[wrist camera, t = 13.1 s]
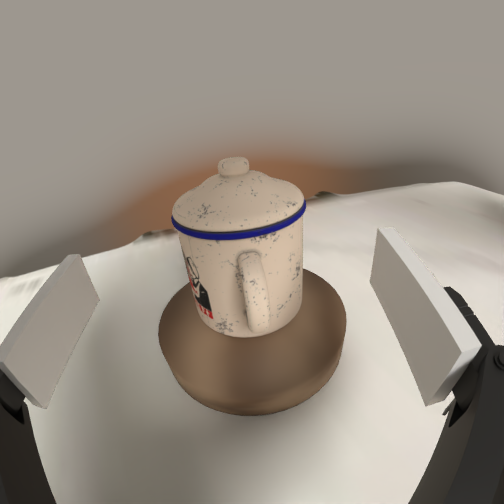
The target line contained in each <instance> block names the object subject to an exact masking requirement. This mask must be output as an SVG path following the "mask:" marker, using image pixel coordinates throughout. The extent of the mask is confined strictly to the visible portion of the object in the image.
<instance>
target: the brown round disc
mask: <svg viewBox="0 0 504 504" xmlns="http://www.w3.org/2000/svg"><path fill="white" fill-rule="evenodd" d="M345 331H346V312H345V308H344V305H343V302H342V300H341V298H340V296H339V295H338V294H337V292H336V291H335V289H334V288H333V287H332V286H331V285H330V284H329V283H327V282H326V281H325V280H324V279H322V278H321V277H319V276H318V275H316V274H314V273H312V272H310V271H308V270H306V269H303V276H302V303H301V306H300V309H299V311H298V313H297V314H296V316H295V317H294V318H293V319H292V320H291V321H290V322H289V323H288V324H287V325H285V326H284V327H282V328H280V329H279V330H277V331H274V332H272V333H269V334H266V335H263V336H258V337H249V338H240V337H232V336H228V335H224V334H221V333H219V332H217V331H215V330H213V329H211V328H210V327H209V326H207V325H206V324H205V323H204V322H203V320H202V319H201V317H200V315H199V313H198V310H197V306H196V303H195V299H194V295H193V292H192V288H191V284H190V283H188V284H187V285H185V286H184V287H183V288H182V289H180V290H179V291H178V292H177V293H176V294H175V295H174V296H173V298H172V299H171V300H170V302H169V303H168V304H167V306H166V308H165V309H164V311H163V314H162V316H161V319H160V324H159V333H158V336H159V343H160V347H161V350H162V353H163V355H164V357H165V359H166V361H167V363H168V365H169V367H170V369H171V371H172V373H173V375H174V376H175V378H176V380H177V381H178V383H179V385H180V386H181V387H182V388H183V389H184V390H185V392H186V393H188V394H189V395H190V396H191V397H192V398H194V399H195V400H197V401H198V402H200V403H201V404H203V405H205V406H207V407H209V408H212V409H214V410H217V411H220V412H224V413H228V414H234V415H241V416H257V415H266V414H272V413H276V412H280V411H284V410H286V409H289V408H291V407H294V406H296V405H298V404H300V403H302V402H304V401H305V400H307V399H309V398H310V397H311V396H313V395H314V394H315V393H317V392H318V391H319V390H320V389H321V388H322V387H323V386H324V385H325V384H326V383H327V382H328V380H329V379H330V378H331V376H332V375H333V373H334V371H335V369H336V367H337V365H338V363H339V359H340V356H341V352H342V347H343V342H344V336H345Z"/></svg>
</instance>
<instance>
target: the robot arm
mask: <svg viewBox="0 0 504 504" xmlns="http://www.w3.org/2000/svg"><path fill="white" fill-rule="evenodd" d="M370 283H371V285H372V287H373V289H374V291H375V293H376V295H377V297H378V299H379V301H380V303H381V305H382V307H383V309H384V311H385V313H386V315H387V317H388V320H389V322H390V324H391V326H392V328H393V330H394V332H395V334H396V337H397V339H398V341H399V343H400V345H401V348H402V350H403V352H404V355H405V357H406V359H407V361H408V364H409V366H410V369H411V371H412V373H413V376H414V378H415V381H416V383H417V386H418V388H419V391H420V393H421V396H422V399H423V401H424V404H425V407H426V406H429V405H432V404H435V403H438V402H440V401H443V400H445V399H446V397H447V396H448V395H449V393H450V392H451V391H453V394H454V396H455V398H454V399H453V401H452V402H451V403H450V404H449V406H448V407H447V408H446V409H445V411H444V412H443V414H442V415H444V416H445V415H446V414H447V412H448V411H449V413H448V416H447V419H446V422H445V425H444V427H443V430H442V433H441V435H440V438H439V441H438V443H437V446H436V448H435V450H434V453H433V455H432V457H431V460H430V462H429V464H428V466H427V468H426V471H425V473H424V475H423V477H422V479H421V481H420V483H419V485H418V487H417V489H416V490H415V492H414V494H413V496H412V498H411V500H410V501H409V503H408V504H504V346H502V345H495V344H494V343H493V341H492V339H491V338H490V336H489V335H488V333H487V332H486V330H485V329H484V327H483V326H482V324H481V323H480V321H479V320H478V318H477V317H476V315H474V314H473V311H472V310H471V308H470V307H468V304H467V303H466V301H465V300H464V299H463V297H462V296H461V295H460V294H459V293H458V292H456V291H455V290H454V289H452V288H451V287H444V288H443V287H442V286H441V284H440V283H439V282H438V280H437V279H436V278H435V276H434V275H433V274H432V272H431V271H430V270H429V269H428V267H427V266H426V265H425V264H424V262H423V261H422V260H421V259H420V257H419V256H418V255H417V254H416V252H415V251H414V250H413V249H412V248H411V246H410V245H409V244H408V243H407V242H406V240H405V239H404V238H403V237H402V236H401V235H400V234H399V232H398V231H397V230H396V229H395V228H394V227H384V228H378V229H377V237H376V245H375V252H374V259H373V265H372V271H371V277H370ZM99 301H100V299H99V297H98V295H97V293H96V291H95V289H94V286H93V284H92V282H91V280H90V277H89V275H88V273H87V271H86V268H85V266H84V263H83V261H82V259H81V256H80V254H73V255H68V256H67V257H66V258H65V259H64V260H63V261H62V263H61V264H60V265H59V266H58V267H57V269H56V270H55V271H54V272H53V273H52V275H51V276H50V277H49V278H48V280H47V281H46V282H45V283H44V285H43V286H42V287H41V288H40V290H39V291H38V292H37V294H36V295H35V296H34V298H33V299H32V300H31V302H30V303H29V304H28V306H27V307H26V308H25V310H24V311H23V313H22V314H21V315H20V317H19V318H18V320H17V321H16V323H15V324H14V326H13V327H12V329H11V330H10V332H9V333H8V335H7V336H6V338H5V339H4V341H3V342H2V344H1V345H0V504H56V502H55V499H54V497H53V494H52V492H51V489H50V486H49V484H48V481H47V478H46V475H45V472H44V469H43V466H42V463H41V460H40V456H39V453H38V449H37V446H36V442H35V438H34V434H33V430H32V425H31V421H30V416H29V411H28V407H27V404H26V403H25V402H24V398H25V397H26V398H27V399H28V400H29V401H30V402H31V403H32V404H33V405H35V406H38V407H41V408H44V409H47V406H48V404H49V402H50V399H51V397H52V395H53V392H54V390H55V388H56V385H57V383H58V381H59V379H60V376H61V374H62V372H63V370H64V368H65V366H66V364H67V362H68V359H69V357H70V355H71V353H72V351H73V349H74V347H75V345H76V343H77V341H78V339H79V337H80V336H81V334H82V332H83V330H84V328H85V326H86V324H87V322H88V321H89V319H90V317H91V315H92V313H93V311H94V310H95V308H96V306H97V304H98V303H99Z"/></svg>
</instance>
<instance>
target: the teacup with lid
mask: <svg viewBox="0 0 504 504" xmlns="http://www.w3.org/2000/svg"><path fill="white" fill-rule="evenodd" d="M218 172H219V174H216V175H214V176H212V177H210V178H209V179H207V180H206V181H204V182H203V183H202V184H201V185H200V186H198V187H196V188H194V189H192V190H190V191H188V192H186V193H185V194H183V195H182V196H181V197H180V198H179V199H178V200H177V201H176V203H175V204H174V207H173V211H172V217H171V219H172V223H173V225H174V227H175V228H176V229H177V230H178V234H179V239H180V243H181V247H182V252H183V256H184V260H185V264H186V268H187V272H188V276H189V280H190V284H191V288H192V292H193V295H194V299H195V303H196V306H197V310H198V313H199V315H200V317H201V319H202V320H203V322H204V323H205V324H206V325H207V326H209V327H210V328H211V329H213V330H215V331H217V332H219V333H221V334H224V335H228V336H232V337H240V338H249V337H258V336H263V335H266V334H269V333H272V332H274V331H277V330H279V329H280V328H282V327H284V326H285V325H287V324H288V323H289V322H290V321H291V320H292V319H293V318H294V317H295V316H296V314H297V313H298V311H299V309H300V306H301V303H302V276H303V213H304V212H305V209H306V201H305V199H304V197H303V194H302V192H301V191H300V190H299V188H298V187H296V186H295V185H293V184H292V183H289V182H287V181H284V180H281V179H277V178H271V177H269V176H267V175H266V174H264V173H261V172H258V171H253V170H249V162H248V160H247V159H246V158H243V157H231V158H226V159H223V160H221V161H220V162H219V164H218Z"/></svg>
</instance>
